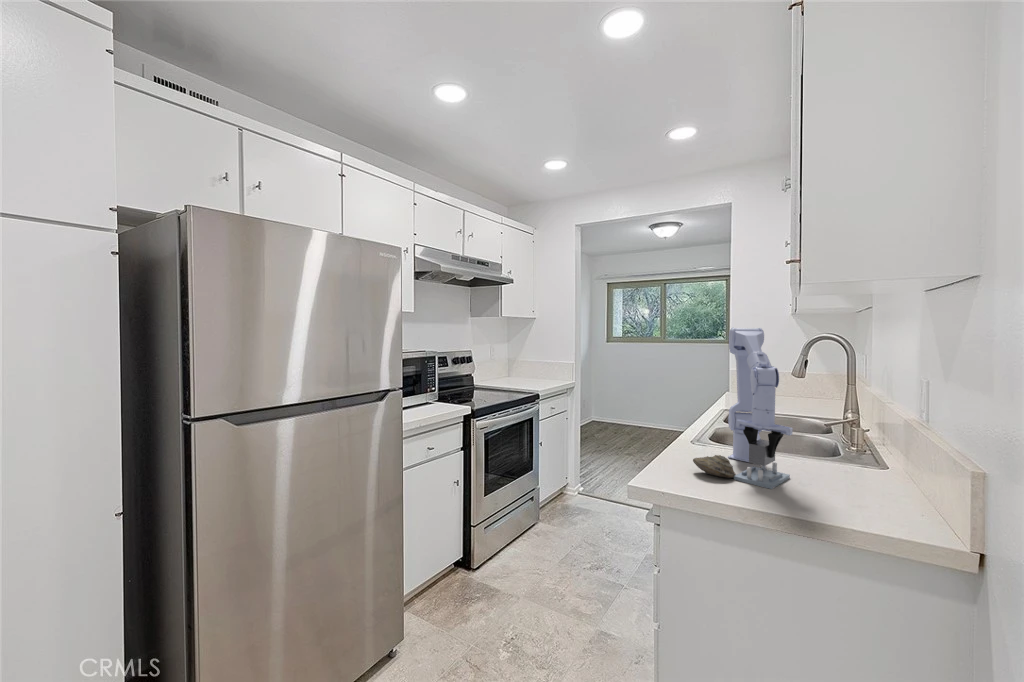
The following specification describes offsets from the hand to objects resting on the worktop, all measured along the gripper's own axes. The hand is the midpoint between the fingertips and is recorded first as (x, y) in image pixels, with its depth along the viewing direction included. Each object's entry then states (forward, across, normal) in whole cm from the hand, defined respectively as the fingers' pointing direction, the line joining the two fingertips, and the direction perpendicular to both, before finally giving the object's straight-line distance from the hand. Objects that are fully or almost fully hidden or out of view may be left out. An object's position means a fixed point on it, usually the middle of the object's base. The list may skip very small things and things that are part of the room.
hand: (762, 455), depth 129 cm
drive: (+2, 0, 0) cm, 2 cm away
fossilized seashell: (+7, -11, -7) cm, 15 cm away
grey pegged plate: (+7, 0, 0) cm, 7 cm away
